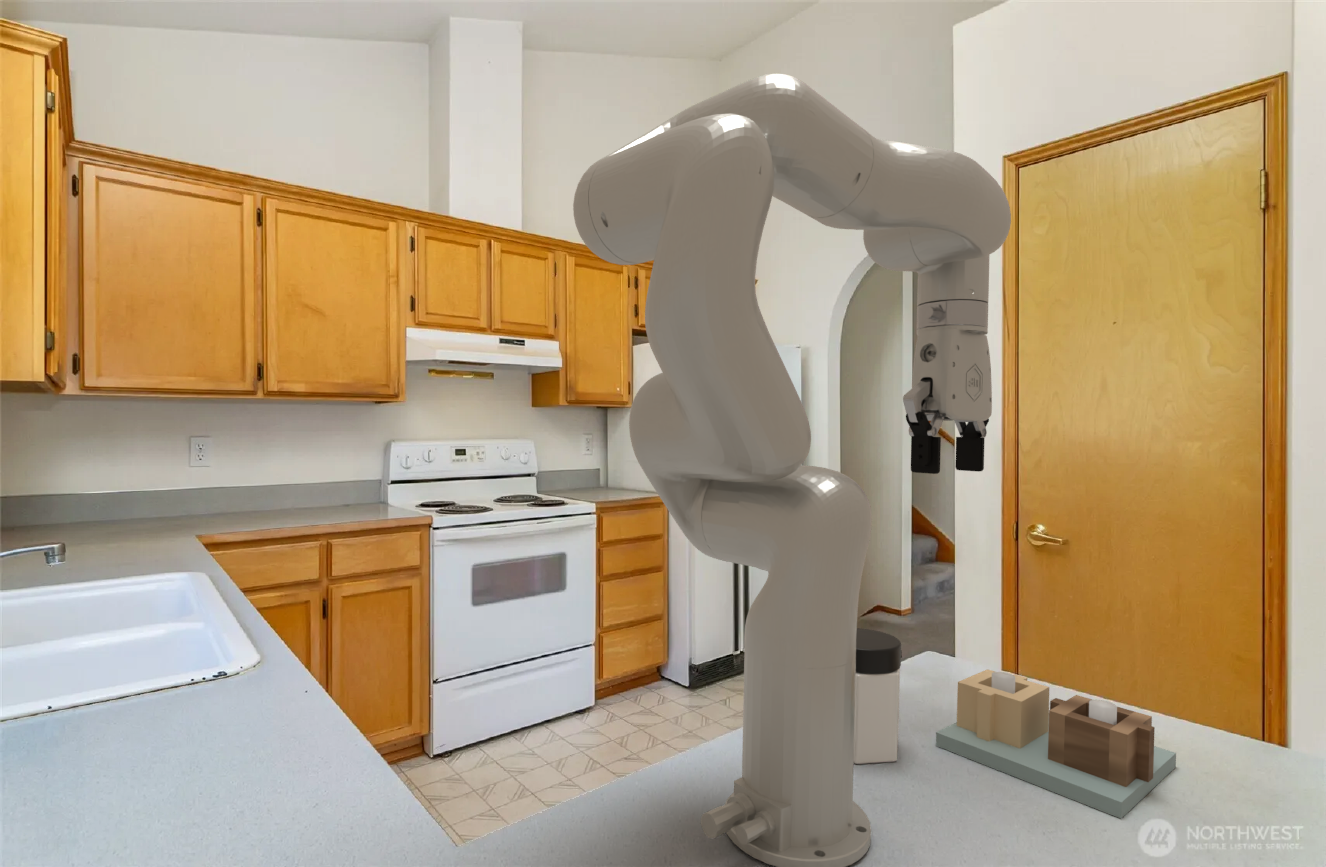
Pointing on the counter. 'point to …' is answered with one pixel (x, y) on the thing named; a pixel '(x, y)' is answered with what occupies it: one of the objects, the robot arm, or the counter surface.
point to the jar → (876, 697)
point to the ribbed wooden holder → (1101, 742)
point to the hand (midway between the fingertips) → (948, 471)
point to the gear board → (1035, 741)
